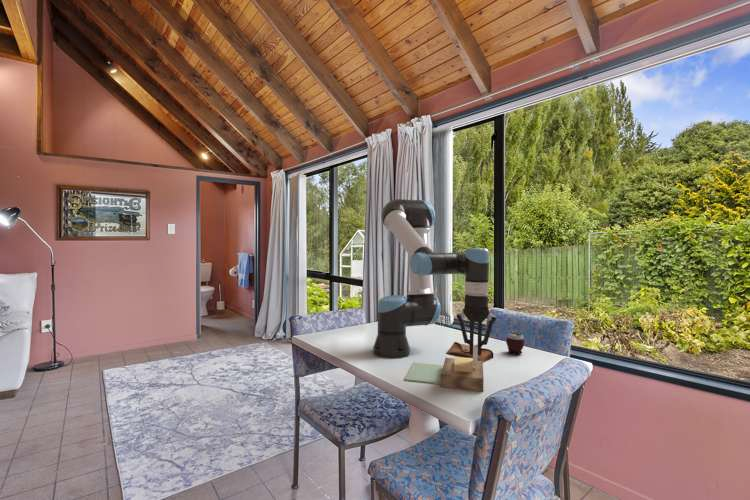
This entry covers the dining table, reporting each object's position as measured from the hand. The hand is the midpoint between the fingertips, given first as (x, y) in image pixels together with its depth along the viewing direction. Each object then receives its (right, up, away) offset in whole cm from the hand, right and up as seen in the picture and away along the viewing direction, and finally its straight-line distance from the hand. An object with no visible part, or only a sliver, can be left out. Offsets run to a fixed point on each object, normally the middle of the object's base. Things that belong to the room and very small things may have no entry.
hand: (475, 364), depth 125 cm
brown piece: (-4, -5, +1) cm, 7 cm away
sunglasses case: (+5, -5, +27) cm, 28 cm away
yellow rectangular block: (-4, -1, +1) cm, 4 cm away
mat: (-15, -5, +6) cm, 17 cm away
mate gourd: (+26, -5, +31) cm, 41 cm away
